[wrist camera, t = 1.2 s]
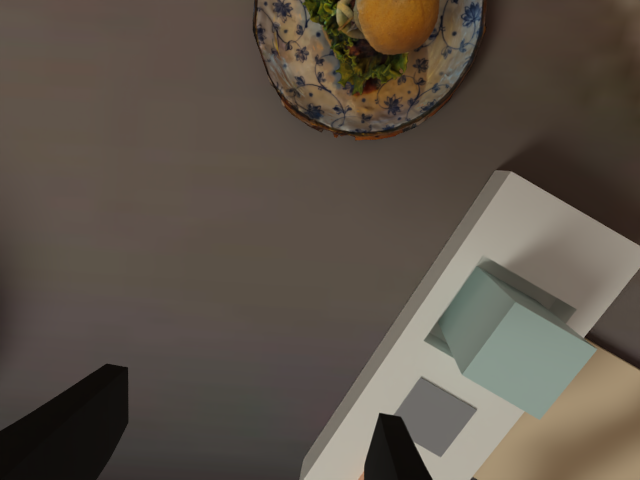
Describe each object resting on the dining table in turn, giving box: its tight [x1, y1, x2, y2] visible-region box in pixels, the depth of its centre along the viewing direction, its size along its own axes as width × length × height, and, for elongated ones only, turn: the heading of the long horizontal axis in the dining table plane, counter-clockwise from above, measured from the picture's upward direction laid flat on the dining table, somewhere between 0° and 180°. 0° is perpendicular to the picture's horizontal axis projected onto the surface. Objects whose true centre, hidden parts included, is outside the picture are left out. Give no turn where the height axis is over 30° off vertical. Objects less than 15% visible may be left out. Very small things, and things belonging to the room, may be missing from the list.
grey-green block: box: [438, 266, 597, 420], centre depth 20 cm, size 4×4×6 cm
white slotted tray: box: [299, 170, 640, 480], centre depth 23 cm, size 8×22×3 cm, turn 151°
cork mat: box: [473, 337, 640, 480], centre depth 24 cm, size 11×11×1 cm
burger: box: [253, 0, 487, 140], centre depth 18 cm, size 12×12×8 cm
